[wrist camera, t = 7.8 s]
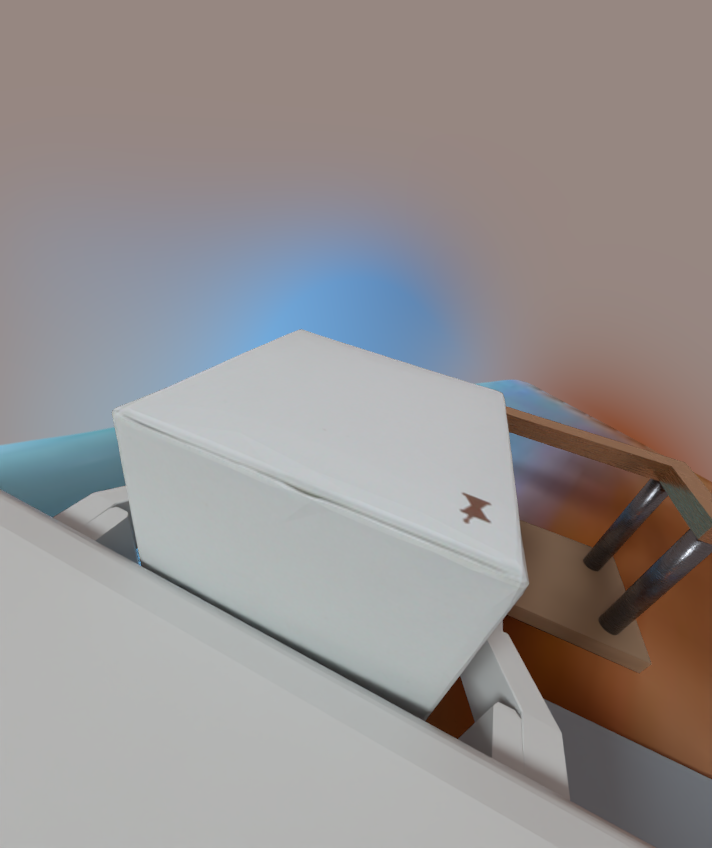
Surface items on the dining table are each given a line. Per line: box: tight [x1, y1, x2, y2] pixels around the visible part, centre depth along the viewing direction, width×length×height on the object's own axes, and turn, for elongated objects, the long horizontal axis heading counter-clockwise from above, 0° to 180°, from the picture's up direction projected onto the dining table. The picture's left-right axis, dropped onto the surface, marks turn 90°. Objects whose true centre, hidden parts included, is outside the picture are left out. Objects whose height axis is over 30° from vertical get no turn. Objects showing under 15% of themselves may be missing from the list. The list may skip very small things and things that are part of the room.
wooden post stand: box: [506, 407, 712, 635], centre depth 23 cm, size 17×6×10 cm, turn 69°
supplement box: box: [112, 330, 529, 721], centre depth 11 cm, size 7×7×13 cm
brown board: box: [507, 520, 652, 673], centre depth 26 cm, size 20×8×1 cm, turn 69°
